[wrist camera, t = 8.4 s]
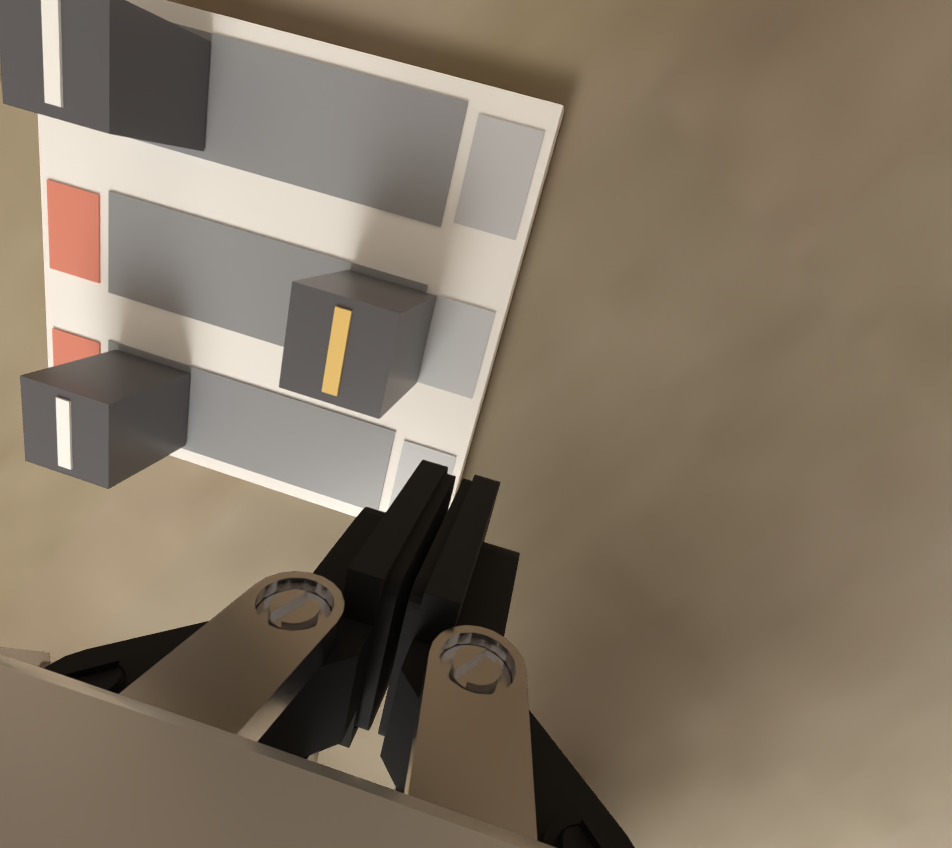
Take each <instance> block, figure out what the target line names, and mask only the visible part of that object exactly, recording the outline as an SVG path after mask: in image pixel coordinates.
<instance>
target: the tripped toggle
mask: <svg viewBox="0 0 952 848" xmlns="http://www.w3.org/2000/svg"><path fill="white" fill-rule="evenodd" d="M436 298H437V296H436V295H433V294H429V293H426V292H423V291H419V290H416V289H413V288H409V287H406V286H402V285H399V284H396V283H392V282H389V281H386V280H382V279H379V278H375V277H372V276H369V275H365V274H362V273H359V272H355V271H352V270H344V271H339V272H334V273H329V274H324V275H320V276H315V277H310V278H305V279H300V280H295V281H292V286H291V294H290V302H289V310H288V318H287V326H286V333H285V341H284V349H283V357H282V365H281V373H280V380H279V388H283V389H286V390H289V391H292V392H295V393H298V394H301V395H305V396H308V397H311V398H314V399H317V400H320V401H324V402H327V403H330V404H333V405H336V406H339V407H342V408H346V409H349V410H352V411H355V412H358V413H361V414H365V415H368V416H371V417H374V418H377V419H380V418H381V417H382V416H383V415H384V414H385V413H386V412H387V411H388V410H389V409H390V408H391V407H392V406H394V405H395V404H396V403H397V402H398V401H399V400H400V399H401V398H402V397H403V396H404V395H405V394H406V393H407V392H408V391H409V390H410V389H411V388H412V387H413V386H414V385H415V384H416V383H417V381H418V376H419V372H420V368H421V363H422V359H423V355H424V350H425V346H426V341H427V337H428V333H429V328H430V324H431V320H432V315H433V311H434V306H435V302H436Z"/></svg>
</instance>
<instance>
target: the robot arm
mask: <svg viewBox="0 0 952 848" xmlns="http://www.w3.org/2000/svg"><path fill="white" fill-rule="evenodd" d="M447 473H448V467H447V466H443V465H440V464H437V463H433V462H430V461H426V460H422V461H421V462H420V464H419V465H418V466H417V468H416V469H415V471H414V472H413V474H412V475H411V477H410V478H409V480H408V481H407V482H406V484H405V485H404V487H403V488H402V490H401V491H400V493H399V494H398V496H397V497H396V498H395V500H394V501H393V503H392V504H391V506H390V507H389V509H388V510H387V511H386V512H383V511H380V510H376V509H373V508H370V507H365V508H364V509H363V510H362V511H361V512H360V513H359V515H358V516H357V517H356V518H355V520H354V521H353V522H352V524H351V525H350V526H349V527H348V529H347V530H346V531H345V533H344V534H343V535H342V536H341V538H340V539H339V540H338V541H337V543H336V544H335V545H334V547H333V548H332V549H331V550H330V552H329V553H328V554H327V556H326V557H325V558H324V559H323V561H322V562H321V563H320V565H319V566H318V567H317V568H316V570H315V571H314V572H313V573H310V572H299V571H292V572H282V573H278V574H275V575H272V576H268V577H266V578H264V579H263V580H261V581H259V582H258V583H256V584H255V585H253V586H252V587H251V588H250V589H248V590H247V591H246V592H245V593H243V594H242V595H241V596H240V597H238V598H237V599H236V600H235V601H233V602H232V603H231V604H230V605H229V606H227V607H226V608H225V609H224V610H222V611H221V612H220V613H219V614H217V615H216V616H215V617H214V618H212V619H211V620H210V621H207V622H203V623H198V624H194V625H190V626H185V627H181V628H177V629H172V630H168V631H164V632H159V633H155V634H151V635H146V636H142V637H138V638H133V639H129V640H125V641H121V642H116V643H112V644H108V645H103V646H99V647H95V648H90V649H86V650H83V651H80V652H77V653H74V654H71V655H68V656H65V657H63V658H61V659H59V660H57V661H55V662H50V653H48V652H39V651H31V650H22V649H14V648H6V647H0V848H635V847H634V846H633V844H632V843H631V841H630V839H629V838H628V836H627V835H626V834H625V832H624V831H623V830H622V828H621V827H620V826H619V825H618V823H617V822H616V821H615V819H614V818H613V817H612V816H611V814H610V813H609V812H608V810H607V809H606V808H605V807H604V805H603V804H602V803H601V801H600V800H599V799H598V798H597V796H596V795H595V794H594V792H593V791H592V790H591V789H590V787H589V786H588V785H587V783H586V782H585V781H584V780H583V778H582V777H581V776H580V774H579V773H578V772H577V771H576V769H575V768H574V767H573V765H572V764H571V763H570V762H569V760H568V759H567V758H566V756H565V755H564V754H563V753H562V751H561V750H560V749H559V748H558V746H557V745H556V744H555V742H554V741H553V740H552V739H551V737H550V736H549V735H548V733H547V732H546V731H545V730H544V728H543V727H542V726H541V724H540V723H539V722H538V721H537V719H536V718H535V717H534V715H533V714H532V713H531V712H530V710H529V703H528V688H527V673H526V668H525V664H524V660H523V658H522V656H521V655H520V653H519V651H518V650H517V648H516V647H515V646H514V645H513V644H512V643H511V642H510V641H508V640H507V639H506V638H505V637H504V634H505V628H506V623H507V618H508V613H509V607H510V602H511V597H512V592H513V587H514V581H515V576H516V571H517V566H518V561H519V555H520V554H519V553H518V552H515V551H511V550H508V549H505V548H502V547H498V546H495V545H492V544H488V543H485V542H484V540H485V536H486V532H487V529H488V525H489V522H490V518H491V514H492V511H493V507H494V504H495V500H496V496H497V493H498V489H499V485H500V482H498V481H495V480H491V479H488V478H484V477H481V476H478V475H475V476H474V478H473V481H470V480H467V479H463V480H462V482H461V484H460V486H459V488H458V491H457V493H456V495H455V497H454V499H453V501H452V503H451V505H450V501H451V496H452V492H453V488H454V484H455V479H456V476H453V475H450V474H447ZM449 505H450V507H449ZM448 509H449V510H448ZM388 685H389V687H388ZM387 688H388V691H387V696H386V700H385V704H384V709H383V713H382V718H381V722H380V726H379V731H378V734H380V735H383V736H385V738H384V742H383V746H382V751H381V755H380V756H381V758H382V760H383V762H384V764H385V766H386V768H387V770H388V772H389V774H390V776H391V778H392V780H393V782H394V784H395V788H394V790H393V789H390V788H387V787H384V786H381V785H379V784H376V783H373V782H370V781H367V780H364V779H361V778H359V777H356V776H353V775H350V774H347V773H344V772H341V771H339V770H336V769H333V768H330V767H327V766H324V765H321V764H319V763H316V762H317V759H318V754H319V751H322V750H324V749H327V748H329V747H332V746H334V745H337V744H339V745H342V746H345V747H348V748H349V747H350V745H351V742H352V740H353V738H354V736H355V734H356V731H357V729H358V727H360V728H362V729H365V730H369V729H370V728H371V725H372V723H373V721H374V718H375V716H376V714H377V711H378V709H379V707H380V704H381V702H382V700H383V697H384V695H385V692H386V690H387Z"/></svg>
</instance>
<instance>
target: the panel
mask: <svg viewBox="0 0 952 848" xmlns="http://www.w3.org/2000/svg"><path fill="white" fill-rule="evenodd" d="M0 60H1V76H2V92H3V104H7V105H10V106H14V107H17V108H21V109H24V110H27V111H31V112H34V113H38V128H39V153H40V177H41V201H42V225H43V249H44V273H45V297H46V321H47V346H48V368H46V369H42V370H39V371H35V372H31V373H28V374H24V375H20V381H21V397H22V413H23V430H24V446H25V461H28V462H31V463H34V464H36V465H39V466H42V467H45V468H48V469H51V470H54V471H57V472H60V473H63V474H66V475H69V476H72V477H75V478H78V479H81V480H84V481H86V482H89V483H92V484H95V485H98V486H101V487H104V488H107V489H109V488H111V487H113V486H115V485H116V484H118V483H120V482H122V481H123V480H125V479H127V478H129V477H131V476H132V475H134V474H136V473H138V472H139V471H141V470H143V469H145V468H147V467H148V466H150V465H152V464H154V463H155V462H157V461H159V460H161V459H163V458H164V457H166V456H168V455H171V456H174V457H177V458H180V459H183V460H186V461H189V462H192V463H195V464H198V465H201V466H204V467H207V468H210V469H213V470H216V471H219V472H222V473H225V474H228V475H231V476H234V477H237V478H240V479H243V480H246V481H249V482H252V483H255V484H258V485H261V486H264V487H267V488H270V489H273V490H276V491H279V492H282V493H285V494H288V495H291V496H294V497H297V498H300V499H303V500H306V501H309V502H312V503H315V504H318V505H321V506H324V507H327V508H330V509H333V510H336V511H339V512H342V513H345V514H348V515H351V516H355V517H357V516H358V515H359V513H360V512H361V511H362V510H363V509H364V508H365V507H370V508H373V509H376V510H380V511H383V512H386V511H387V510H388V509H389V507H390V506H391V504H392V503H393V501H394V500H395V498H396V497H397V496H398V494H399V493H400V491H401V490H402V488H403V487H404V485H405V484H406V482H407V481H408V480H409V478H410V477H411V475H412V474H413V472H414V471H415V469H416V468H417V466H418V465H419V464H420V462H421V461H422V460H426V461H430V462H433V463H437V464H440V465H443V466H447V467H448V473H447V474H450V475H453V476H456V479H455V484H454V488H453V492H452V496H451V501H450V505H451V503H452V501H453V499H454V497H455V495H456V493H457V491H458V488H459V485H460V481H461V477H462V474H463V470H464V467H465V463H466V460H467V456H468V453H469V449H470V445H471V442H472V438H473V435H474V431H475V428H476V424H477V420H478V417H479V413H480V410H481V406H482V403H483V399H484V396H485V392H486V388H487V385H488V381H489V378H490V374H491V371H492V367H493V363H494V360H495V356H496V353H497V349H498V346H499V342H500V339H501V335H502V331H503V328H504V324H505V321H506V317H507V314H508V310H509V306H510V303H511V299H512V296H513V292H514V289H515V285H516V282H517V278H518V274H519V271H520V267H521V264H522V260H523V257H524V253H525V249H526V246H527V242H528V239H529V235H530V232H531V228H532V224H533V221H534V217H535V214H536V210H537V207H538V203H539V200H540V196H541V192H542V189H543V185H544V182H545V178H546V175H547V171H548V167H549V164H550V160H551V157H552V153H553V150H554V146H555V143H556V139H557V135H558V132H559V128H560V125H561V121H562V118H563V114H564V107H563V105H560V104H556V103H553V102H549V101H545V100H541V99H537V98H534V97H530V96H526V95H522V94H519V93H515V92H511V91H507V90H503V89H500V88H496V87H492V86H488V85H485V84H481V83H477V82H473V81H469V80H466V79H462V78H458V77H454V76H451V75H447V74H443V73H439V72H435V71H432V70H428V69H424V68H420V67H416V66H413V65H409V64H405V63H401V62H398V61H394V60H390V59H386V58H382V57H379V56H375V55H371V54H367V53H364V52H360V51H356V50H352V49H348V48H345V47H341V46H337V45H333V44H330V43H326V42H322V41H318V40H314V39H311V38H307V37H303V36H299V35H296V34H292V33H288V32H284V31H280V30H277V29H273V28H269V27H265V26H262V25H258V24H254V23H250V22H246V21H243V20H239V19H235V18H231V17H228V16H224V15H220V14H216V13H212V12H209V11H205V10H201V9H197V8H194V7H190V6H186V5H182V4H178V3H175V2H171V1H167V0H0ZM344 270H352V271H355V272H359V273H362V274H365V275H369V276H372V277H375V278H379V279H382V280H386V281H389V282H392V283H396V284H399V285H402V286H406V287H409V288H413V289H416V290H419V291H423V292H426V293H429V294H433V295H436V296H437V298H436V302H435V306H434V311H433V315H432V320H431V324H430V328H429V333H428V337H427V341H426V346H425V350H424V355H423V359H422V363H421V368H420V372H419V376H418V381H417V383H416V384H415V385H414V386H413V387H412V388H411V389H410V390H409V391H408V392H407V393H406V394H405V395H404V396H403V397H402V398H401V399H400V400H399V401H398V402H397V403H396V404H395V405H394V406H392V407H391V408H390V409H389V410H388V411H387V412H386V413H385V414H384V415H383V416H382V417H381V418H380V419H377V418H374V417H371V416H368V415H365V414H361V413H358V412H355V411H352V410H349V409H346V408H342V407H339V406H336V405H333V404H330V403H327V402H324V401H320V400H317V399H314V398H311V397H308V396H305V395H301V394H298V393H295V392H292V391H289V390H286V389H283V388H279V380H280V373H281V365H282V357H283V349H284V341H285V333H286V326H287V318H288V310H289V302H290V294H291V286H292V281H295V280H300V279H305V278H310V277H315V276H320V275H324V274H329V273H334V272H339V271H344ZM450 505H449V507H450ZM448 510H449V509H448Z"/></svg>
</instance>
